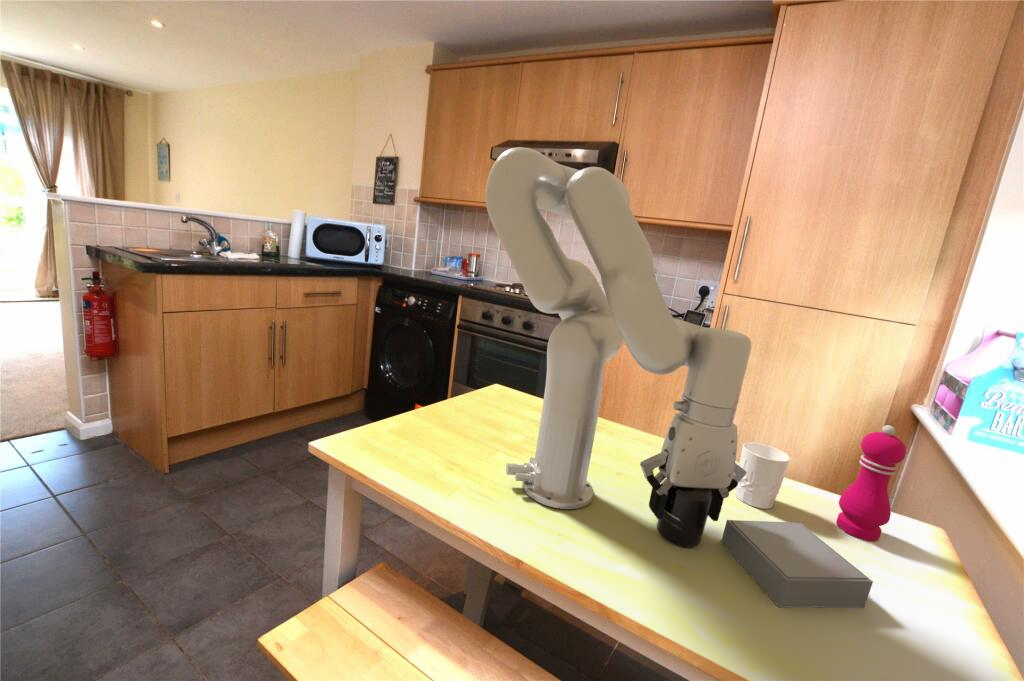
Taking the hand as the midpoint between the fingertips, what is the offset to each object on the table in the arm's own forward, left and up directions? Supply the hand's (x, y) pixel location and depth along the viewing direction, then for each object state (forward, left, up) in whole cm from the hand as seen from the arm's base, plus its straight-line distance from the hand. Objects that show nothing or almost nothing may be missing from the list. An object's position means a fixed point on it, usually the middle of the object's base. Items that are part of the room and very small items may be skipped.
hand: (683, 514), depth 72 cm
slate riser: (+13, -8, -4) cm, 16 cm away
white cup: (+22, +12, -4) cm, 25 cm away
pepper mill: (+36, +3, -4) cm, 36 cm away
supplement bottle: (0, 0, -4) cm, 4 cm away
